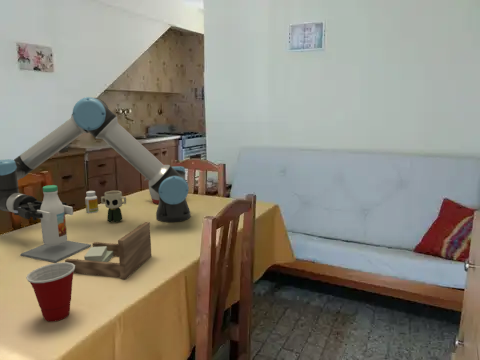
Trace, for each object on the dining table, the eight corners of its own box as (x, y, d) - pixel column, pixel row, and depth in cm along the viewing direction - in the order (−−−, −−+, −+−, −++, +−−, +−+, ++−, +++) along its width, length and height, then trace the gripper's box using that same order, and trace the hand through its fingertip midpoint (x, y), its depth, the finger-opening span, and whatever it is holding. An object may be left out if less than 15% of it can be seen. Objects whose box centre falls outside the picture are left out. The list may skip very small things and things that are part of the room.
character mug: (99, 224, 173) (97, 194, 170) (105, 219, 180) (103, 190, 177) (125, 224, 172) (123, 194, 170) (129, 219, 179) (128, 190, 177)
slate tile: (91, 246, 146) (90, 244, 146) (55, 262, 132) (55, 260, 132) (57, 241, 152) (57, 238, 152) (20, 256, 138) (20, 253, 138)
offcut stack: (113, 257, 137) (112, 245, 136) (101, 269, 127) (100, 256, 127) (94, 256, 138) (93, 245, 137) (80, 269, 128) (79, 256, 127)
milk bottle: (52, 247, 136) (46, 189, 132) (38, 243, 140) (32, 187, 136) (72, 240, 143) (67, 185, 139) (58, 237, 147) (53, 183, 143)
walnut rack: (151, 256, 136) (149, 222, 134) (125, 279, 119) (122, 240, 117) (96, 252, 141) (94, 218, 138) (64, 273, 124) (60, 236, 121)
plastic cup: (41, 305, 104) (36, 261, 102) (84, 303, 105) (80, 260, 103) (23, 329, 94) (17, 280, 91) (71, 326, 95) (66, 278, 92)
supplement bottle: (100, 210, 193) (99, 190, 191) (93, 213, 188) (91, 193, 186) (91, 209, 195) (89, 190, 193) (83, 212, 190) (82, 192, 188)
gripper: (49, 208, 158) (87, 217, 146) (-5, 221, 141) (33, 232, 129) (47, 189, 156) (86, 196, 144) (-8, 200, 139) (30, 209, 127)
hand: (61, 213), depth 137 cm, fingers closed on milk bottle, 8 cm apart
